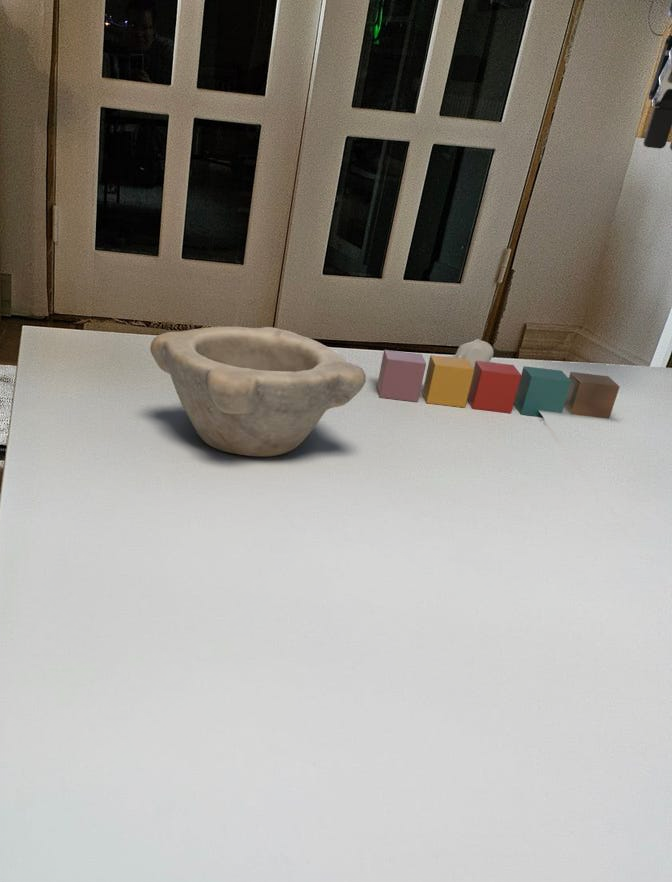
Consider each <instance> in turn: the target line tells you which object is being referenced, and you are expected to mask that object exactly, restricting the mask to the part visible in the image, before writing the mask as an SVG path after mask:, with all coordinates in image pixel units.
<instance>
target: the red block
mask: <svg viewBox="0 0 672 882" xmlns="http://www.w3.org/2000/svg"><path fill="white" fill-rule="evenodd" d="M521 374H522V373H520V372H519V370H518V369H517V368H516V366H515V364H508V363H500V362H499V363H498V362H491V361H489V362H484V361H476V362H475V366H474V373H473V377H472V381H471V385H470V389H469V393H468V398H467V401H468V403H469V405H470V407H471V408H472V409H473V410H481V411H489V412H497V413H505V414H511V413H512V411H513V407H514V400H515V397H516V393H517V389H518V386H519V382H520V378H521Z"/></svg>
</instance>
